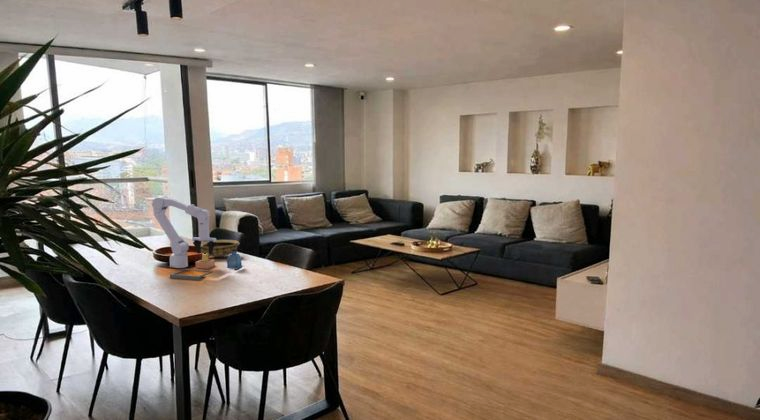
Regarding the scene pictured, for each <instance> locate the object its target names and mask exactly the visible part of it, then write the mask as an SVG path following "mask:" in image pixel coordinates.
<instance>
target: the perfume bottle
mask: <svg viewBox="0 0 760 420" xmlns="http://www.w3.org/2000/svg"><path fill="white" fill-rule="evenodd" d="M242 263H243V262H242V257H241V255H240V254H239V253H238V248H237V249H236V248H232V249H231V254H229V255H228V257H227V259H226V266H227V268H230V269H231V268H232V269H233V268H234V271H239V270H240V269H241V270H242V269H243V266H242Z"/></svg>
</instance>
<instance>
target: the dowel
mask: <svg viewBox="0 0 760 420" xmlns="http://www.w3.org/2000/svg"><path fill="white" fill-rule="evenodd" d="M208 259H209V256H208V254H204V253H201V260H202V262H208Z"/></svg>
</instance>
